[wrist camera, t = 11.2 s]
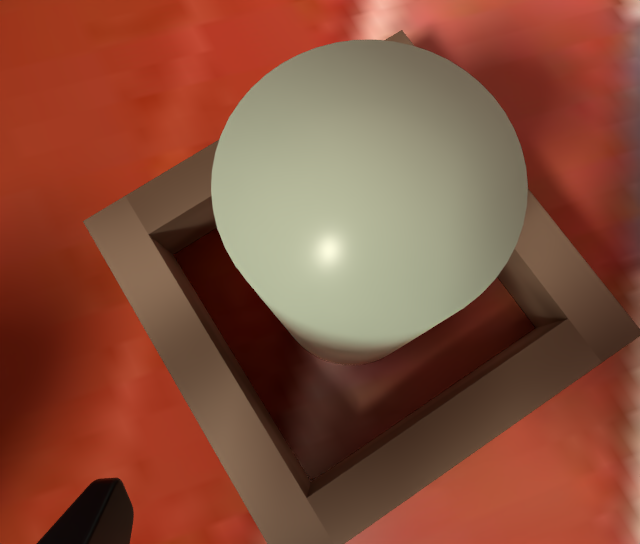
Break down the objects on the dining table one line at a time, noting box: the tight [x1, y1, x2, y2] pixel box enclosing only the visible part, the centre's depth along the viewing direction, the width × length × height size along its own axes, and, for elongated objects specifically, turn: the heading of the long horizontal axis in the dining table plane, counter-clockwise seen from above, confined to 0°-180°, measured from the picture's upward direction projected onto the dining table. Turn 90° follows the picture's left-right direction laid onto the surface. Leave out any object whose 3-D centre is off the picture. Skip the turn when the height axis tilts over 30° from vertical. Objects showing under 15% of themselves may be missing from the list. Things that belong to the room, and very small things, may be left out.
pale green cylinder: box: [211, 40, 528, 365], centre depth 13 cm, size 5×5×10 cm
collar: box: [83, 30, 640, 544], centre depth 17 cm, size 12×12×2 cm
